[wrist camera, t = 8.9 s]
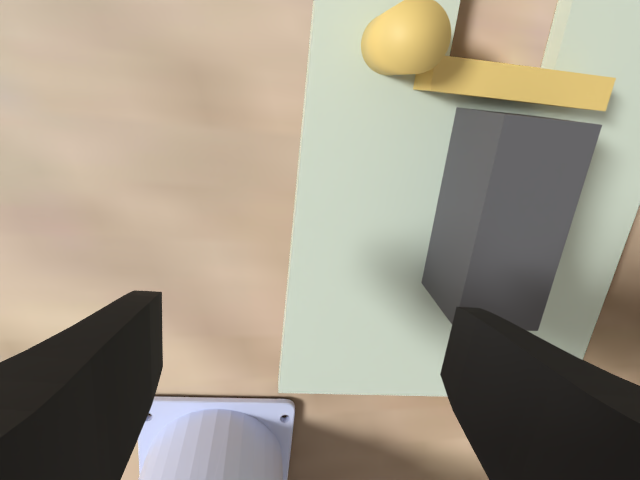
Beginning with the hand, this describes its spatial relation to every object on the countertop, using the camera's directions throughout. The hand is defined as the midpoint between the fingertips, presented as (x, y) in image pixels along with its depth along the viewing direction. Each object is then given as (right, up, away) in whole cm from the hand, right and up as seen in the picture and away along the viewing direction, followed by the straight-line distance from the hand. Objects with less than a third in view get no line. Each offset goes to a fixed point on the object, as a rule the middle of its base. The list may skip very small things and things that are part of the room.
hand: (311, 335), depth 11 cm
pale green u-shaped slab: (+7, +4, +10) cm, 13 cm away
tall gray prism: (+7, +4, +9) cm, 12 cm away
